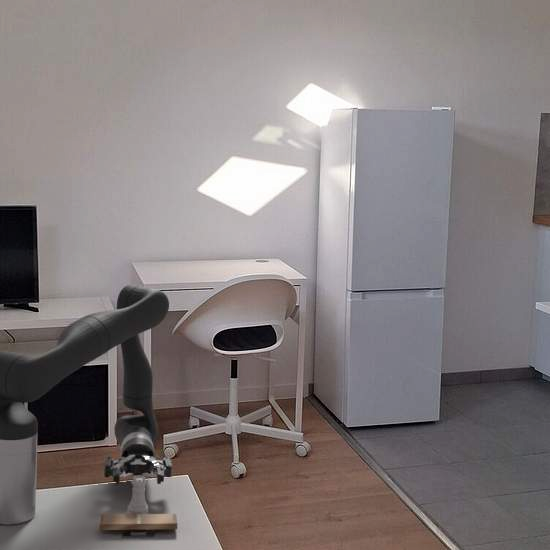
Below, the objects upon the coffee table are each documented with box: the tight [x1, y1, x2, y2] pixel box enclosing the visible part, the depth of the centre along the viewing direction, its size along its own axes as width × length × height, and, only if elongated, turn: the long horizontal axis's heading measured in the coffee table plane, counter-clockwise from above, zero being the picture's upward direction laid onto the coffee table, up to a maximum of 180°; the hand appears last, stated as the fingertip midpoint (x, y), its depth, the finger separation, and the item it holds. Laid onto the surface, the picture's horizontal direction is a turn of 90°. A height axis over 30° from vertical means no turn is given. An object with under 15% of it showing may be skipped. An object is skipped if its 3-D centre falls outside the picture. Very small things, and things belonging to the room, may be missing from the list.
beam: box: [98, 513, 178, 531], centre depth 166 cm, size 15×4×1 cm, turn 100°
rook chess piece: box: [126, 475, 150, 514], centre depth 172 cm, size 4×4×8 cm
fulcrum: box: [122, 529, 155, 538], centre depth 166 cm, size 6×7×1 cm
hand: (138, 479), depth 175 cm, fingers open, 8 cm apart
